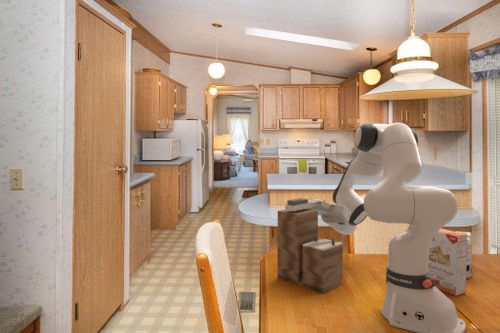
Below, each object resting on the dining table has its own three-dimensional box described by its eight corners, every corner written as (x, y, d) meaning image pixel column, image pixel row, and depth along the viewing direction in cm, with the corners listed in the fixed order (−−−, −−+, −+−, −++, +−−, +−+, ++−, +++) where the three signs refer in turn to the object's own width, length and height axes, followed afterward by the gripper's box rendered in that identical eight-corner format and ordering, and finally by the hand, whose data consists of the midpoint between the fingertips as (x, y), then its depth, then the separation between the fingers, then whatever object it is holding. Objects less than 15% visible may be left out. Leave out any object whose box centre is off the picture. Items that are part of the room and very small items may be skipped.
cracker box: (419, 283, 138) (420, 227, 137) (430, 280, 141) (431, 225, 140) (455, 297, 126) (457, 235, 124) (466, 293, 128) (468, 233, 127)
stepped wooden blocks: (342, 284, 137) (343, 214, 136) (323, 293, 129) (324, 219, 127) (297, 270, 152) (297, 207, 150) (277, 278, 144) (277, 211, 142)
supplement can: (449, 278, 143) (450, 239, 142) (444, 271, 151) (445, 234, 150) (473, 280, 141) (474, 241, 140) (467, 273, 149) (468, 235, 148)
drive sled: (324, 204, 152) (324, 196, 151) (293, 211, 138) (293, 201, 138) (316, 203, 155) (316, 195, 154) (285, 209, 141) (285, 200, 140)
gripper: (314, 205, 168) (297, 192, 159) (355, 210, 153) (339, 197, 144) (309, 218, 166) (292, 206, 157) (350, 225, 151) (334, 212, 142)
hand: (315, 201), depth 150 cm, fingers closed on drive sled, 4 cm apart
